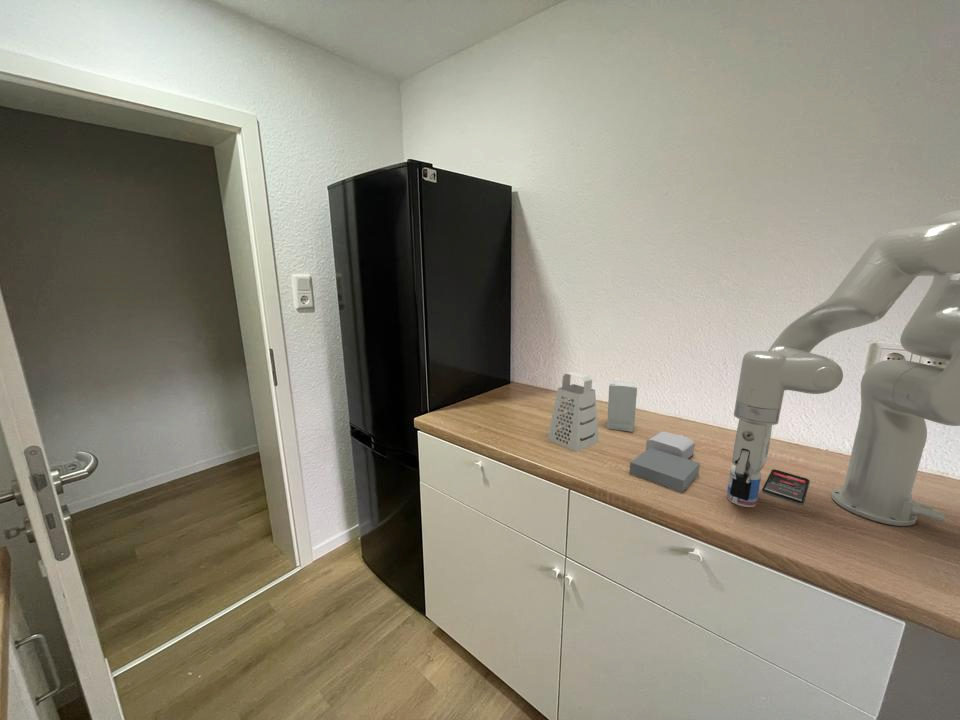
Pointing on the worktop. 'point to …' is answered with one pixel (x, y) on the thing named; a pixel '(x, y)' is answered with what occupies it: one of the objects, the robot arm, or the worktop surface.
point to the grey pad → (665, 469)
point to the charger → (672, 444)
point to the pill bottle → (753, 491)
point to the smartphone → (786, 486)
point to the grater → (575, 414)
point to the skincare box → (622, 405)
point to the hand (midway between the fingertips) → (742, 491)
